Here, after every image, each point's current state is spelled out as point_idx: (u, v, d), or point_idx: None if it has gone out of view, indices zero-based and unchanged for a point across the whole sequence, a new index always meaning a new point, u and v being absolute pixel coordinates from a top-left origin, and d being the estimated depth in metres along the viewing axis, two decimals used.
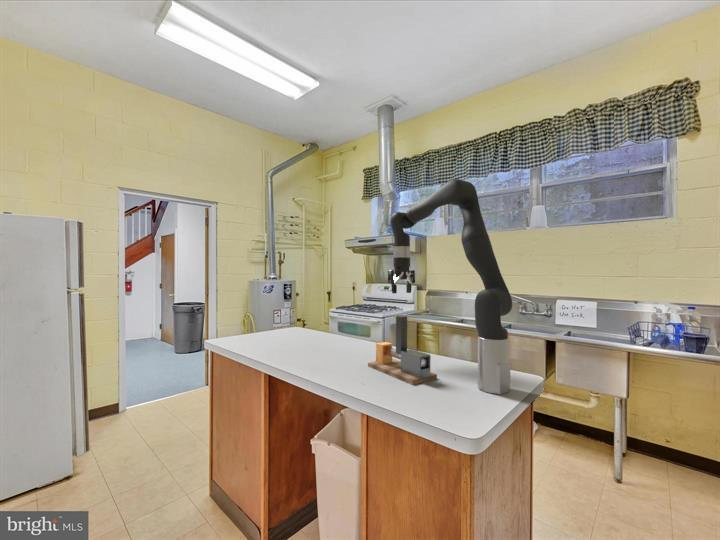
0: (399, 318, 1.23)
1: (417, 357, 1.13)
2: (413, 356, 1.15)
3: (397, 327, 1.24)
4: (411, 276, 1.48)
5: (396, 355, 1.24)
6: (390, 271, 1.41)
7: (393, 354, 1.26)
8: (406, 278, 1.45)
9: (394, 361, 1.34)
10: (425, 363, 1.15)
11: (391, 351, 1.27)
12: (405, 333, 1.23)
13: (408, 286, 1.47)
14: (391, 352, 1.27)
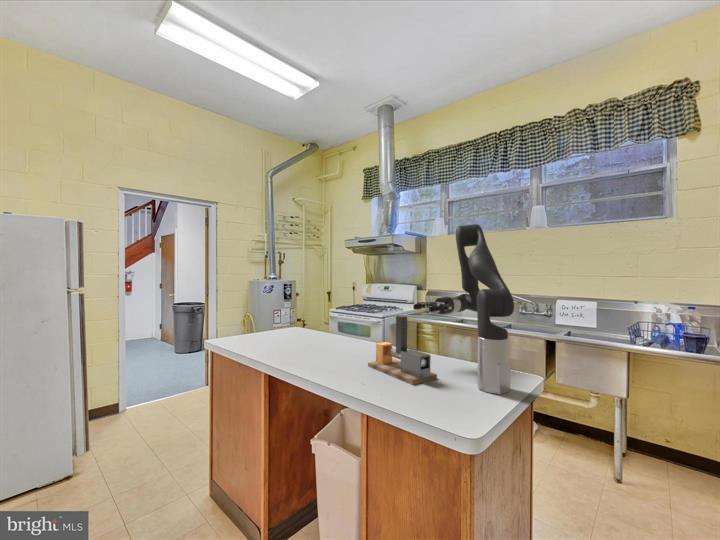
0: (399, 318, 1.23)
1: (417, 357, 1.13)
2: (413, 356, 1.15)
3: (397, 327, 1.24)
4: None
5: (396, 355, 1.24)
6: None
7: (393, 354, 1.26)
8: (436, 305, 1.32)
9: (394, 361, 1.34)
10: (425, 363, 1.15)
11: (391, 351, 1.27)
12: (405, 333, 1.23)
13: None
14: (391, 352, 1.27)
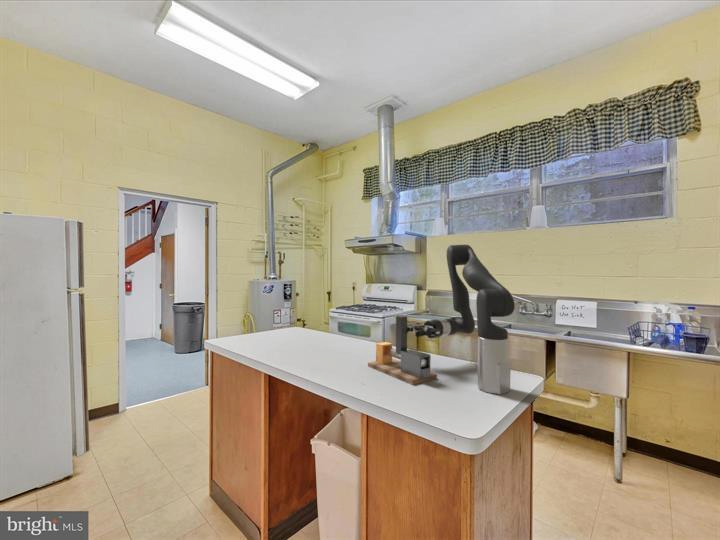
0: (399, 318, 1.23)
1: (417, 357, 1.13)
2: (413, 356, 1.15)
3: (397, 327, 1.24)
4: None
5: (396, 355, 1.24)
6: None
7: (393, 354, 1.26)
8: (424, 329, 1.28)
9: (394, 361, 1.34)
10: (425, 363, 1.15)
11: (391, 351, 1.27)
12: (405, 333, 1.23)
13: None
14: (391, 352, 1.27)
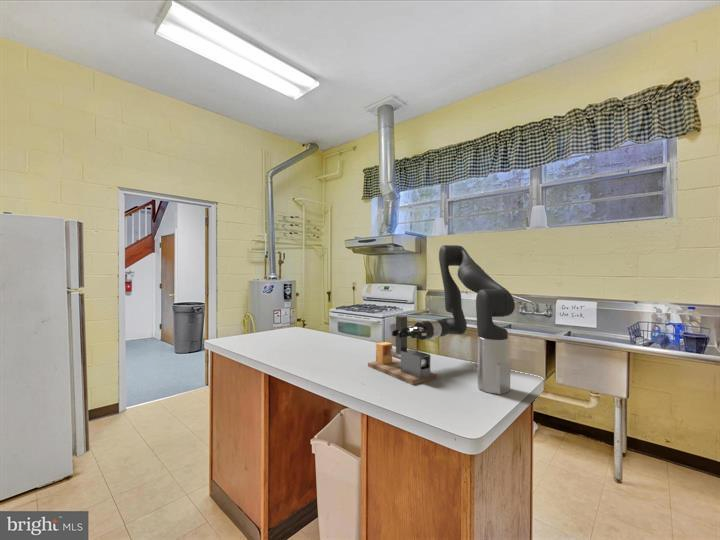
0: (399, 318, 1.23)
1: (417, 357, 1.13)
2: (413, 356, 1.15)
3: (397, 327, 1.24)
4: None
5: (396, 355, 1.24)
6: None
7: (393, 354, 1.26)
8: None
9: (394, 361, 1.34)
10: (425, 363, 1.15)
11: (391, 351, 1.27)
12: None
13: None
14: (391, 352, 1.27)
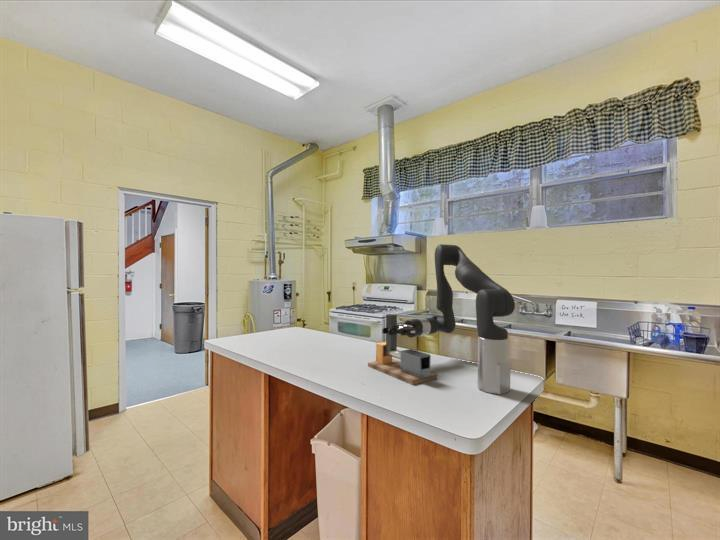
0: (389, 316, 1.28)
1: (417, 357, 1.13)
2: (413, 356, 1.15)
3: (387, 325, 1.29)
4: None
5: (386, 352, 1.29)
6: None
7: (383, 351, 1.31)
8: None
9: (394, 361, 1.34)
10: None
11: None
12: None
13: None
14: None
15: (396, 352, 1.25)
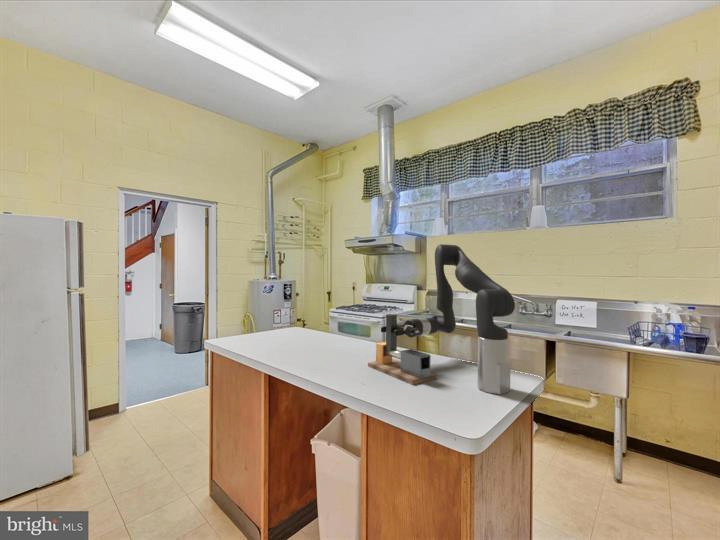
0: (389, 316, 1.28)
1: (417, 357, 1.13)
2: (413, 356, 1.15)
3: (387, 325, 1.29)
4: None
5: (386, 352, 1.29)
6: None
7: (383, 351, 1.31)
8: (403, 328, 1.30)
9: (394, 361, 1.34)
10: None
11: None
12: None
13: None
14: None
15: (396, 352, 1.25)
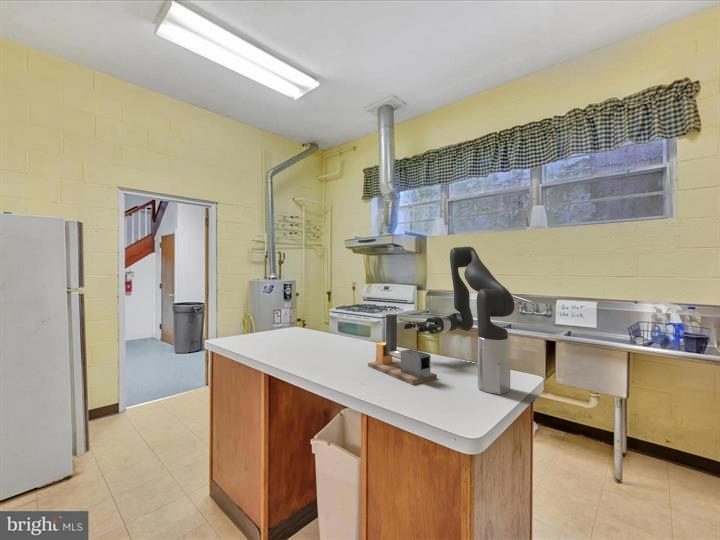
0: (389, 316, 1.28)
1: (417, 357, 1.13)
2: (413, 356, 1.15)
3: (387, 325, 1.29)
4: None
5: (386, 352, 1.29)
6: None
7: (383, 351, 1.31)
8: (426, 325, 1.37)
9: (394, 361, 1.34)
10: None
11: None
12: (395, 331, 1.28)
13: None
14: None
15: (396, 352, 1.25)
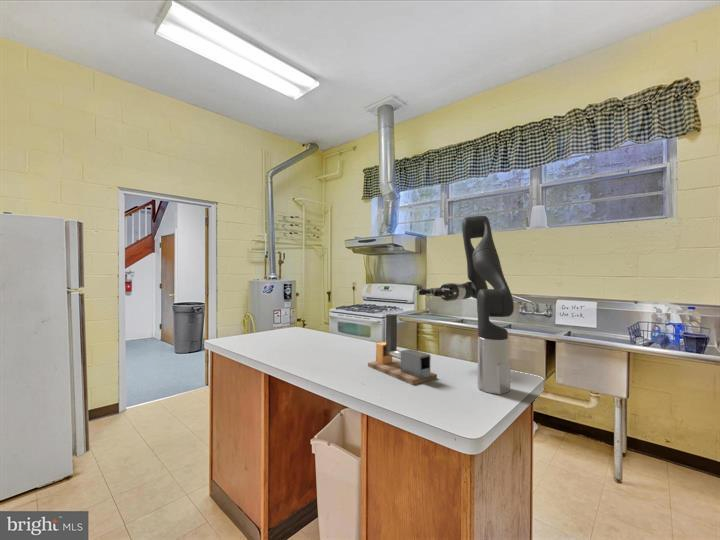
0: (389, 316, 1.28)
1: (417, 357, 1.13)
2: (413, 356, 1.15)
3: (387, 325, 1.29)
4: None
5: (386, 352, 1.29)
6: None
7: (383, 351, 1.31)
8: (441, 290, 1.35)
9: (394, 361, 1.34)
10: None
11: None
12: (395, 331, 1.28)
13: None
14: None
15: (396, 352, 1.25)
